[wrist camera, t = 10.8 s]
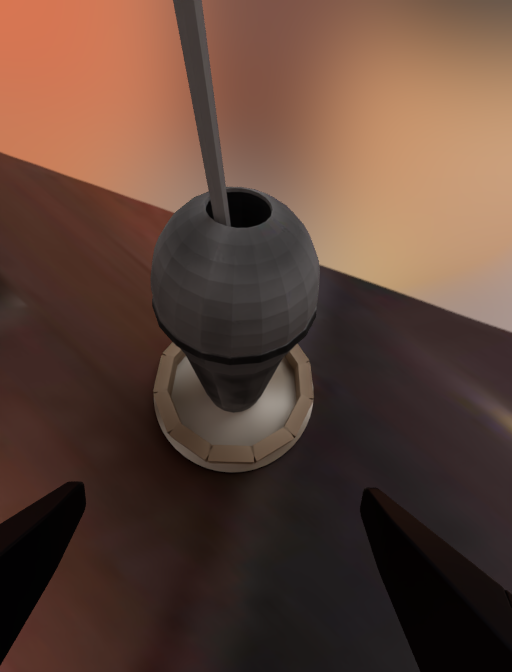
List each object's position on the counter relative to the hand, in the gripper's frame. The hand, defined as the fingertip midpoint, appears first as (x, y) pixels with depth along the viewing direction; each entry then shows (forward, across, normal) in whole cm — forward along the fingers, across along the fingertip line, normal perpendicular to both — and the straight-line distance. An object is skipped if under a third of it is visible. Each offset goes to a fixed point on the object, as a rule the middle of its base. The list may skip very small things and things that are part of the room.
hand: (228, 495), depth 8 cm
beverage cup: (+13, 0, +2) cm, 13 cm away
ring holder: (+13, 0, +2) cm, 14 cm away
